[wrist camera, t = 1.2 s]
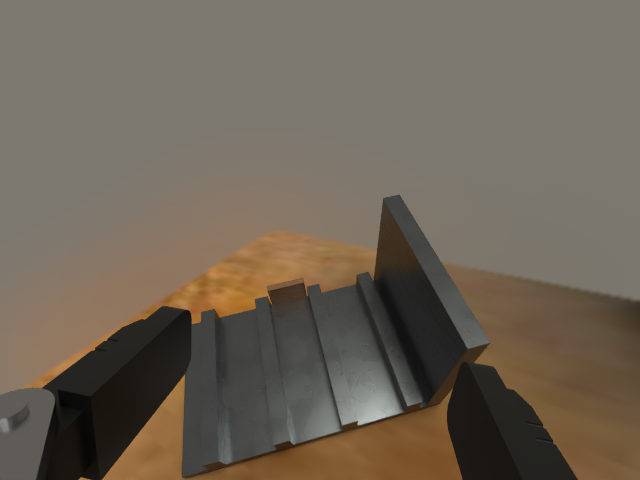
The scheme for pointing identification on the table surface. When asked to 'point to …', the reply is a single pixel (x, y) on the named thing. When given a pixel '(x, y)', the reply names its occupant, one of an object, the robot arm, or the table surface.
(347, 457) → the table surface
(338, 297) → the rack
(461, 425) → the robot arm
